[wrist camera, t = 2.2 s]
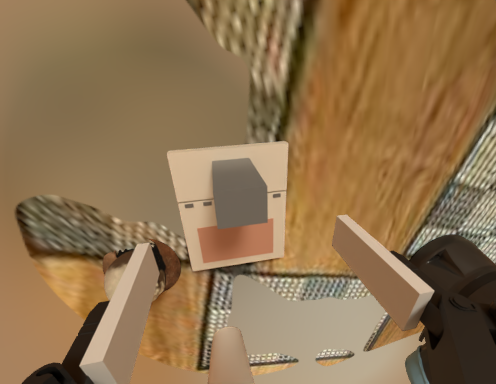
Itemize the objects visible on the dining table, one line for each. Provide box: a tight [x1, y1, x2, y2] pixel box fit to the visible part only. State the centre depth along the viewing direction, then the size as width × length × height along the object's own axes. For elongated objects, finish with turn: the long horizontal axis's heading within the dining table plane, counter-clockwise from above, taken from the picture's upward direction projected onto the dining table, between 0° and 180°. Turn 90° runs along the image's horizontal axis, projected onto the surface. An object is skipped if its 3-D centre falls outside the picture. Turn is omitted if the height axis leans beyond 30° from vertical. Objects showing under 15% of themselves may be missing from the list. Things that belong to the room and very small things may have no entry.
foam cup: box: [208, 327, 254, 384], centre depth 40 cm, size 10×9×13 cm
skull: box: [103, 238, 181, 301], centre depth 33 cm, size 12×10×10 cm
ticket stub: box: [167, 141, 288, 229], centre depth 25 cm, size 7×16×12 cm, turn 93°
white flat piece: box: [178, 190, 286, 271], centre depth 34 cm, size 13×16×2 cm
